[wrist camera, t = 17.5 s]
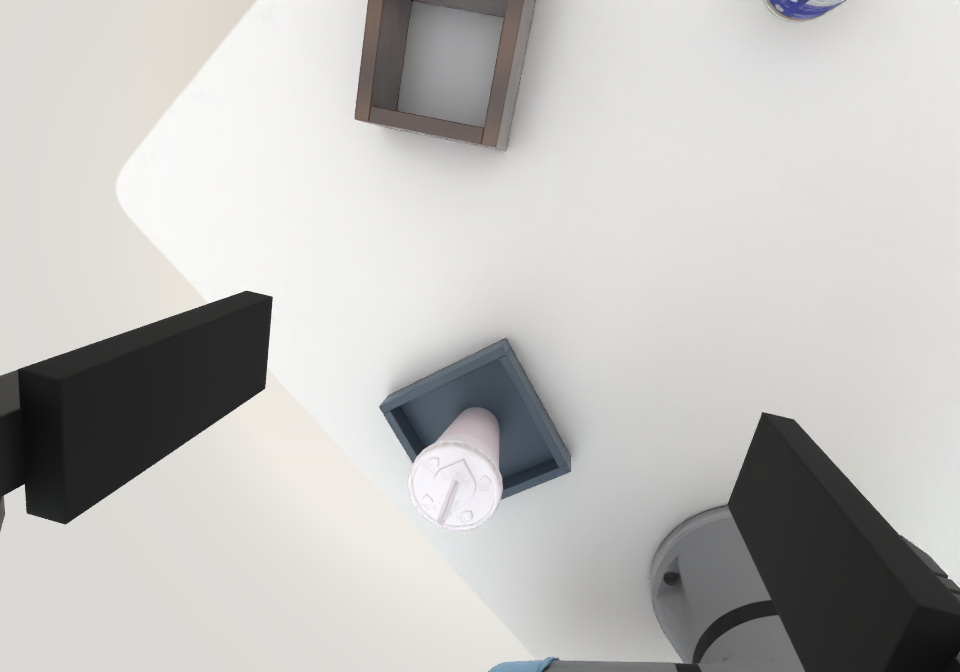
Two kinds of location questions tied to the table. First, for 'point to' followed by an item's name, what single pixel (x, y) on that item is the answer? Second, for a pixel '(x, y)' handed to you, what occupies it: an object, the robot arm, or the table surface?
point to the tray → (497, 388)
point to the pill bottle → (801, 8)
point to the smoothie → (460, 473)
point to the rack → (386, 62)
